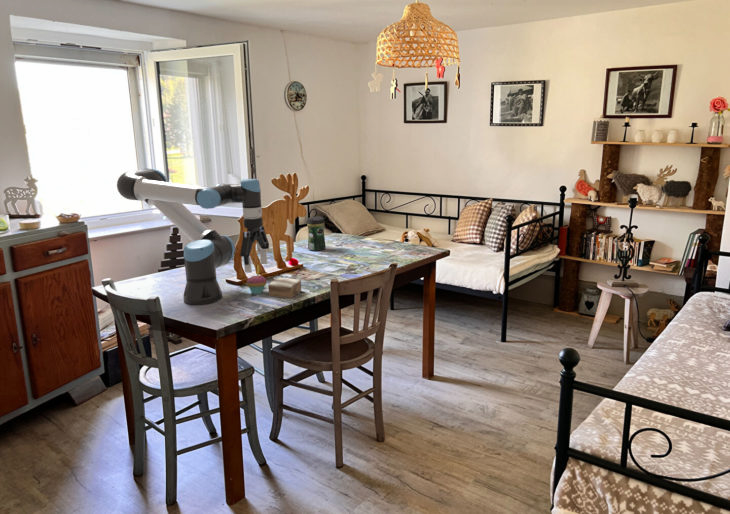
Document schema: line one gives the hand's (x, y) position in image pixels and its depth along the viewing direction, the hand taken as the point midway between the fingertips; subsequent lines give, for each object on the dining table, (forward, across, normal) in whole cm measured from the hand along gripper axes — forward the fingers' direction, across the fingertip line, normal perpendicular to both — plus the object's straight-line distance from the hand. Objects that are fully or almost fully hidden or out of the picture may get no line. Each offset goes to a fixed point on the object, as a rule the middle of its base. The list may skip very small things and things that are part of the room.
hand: (256, 267), depth 227 cm
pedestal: (+11, +2, -12) cm, 16 cm away
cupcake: (+11, 0, 0) cm, 11 cm away
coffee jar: (+11, +80, +6) cm, 81 cm away
